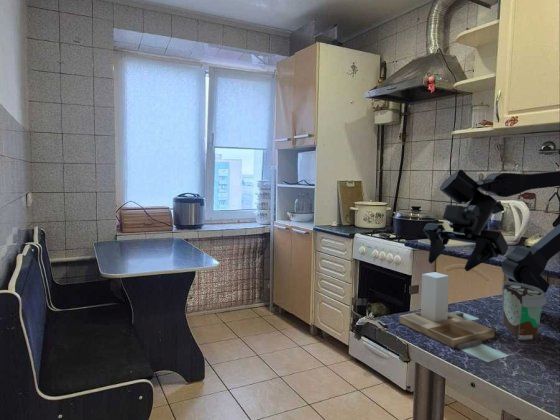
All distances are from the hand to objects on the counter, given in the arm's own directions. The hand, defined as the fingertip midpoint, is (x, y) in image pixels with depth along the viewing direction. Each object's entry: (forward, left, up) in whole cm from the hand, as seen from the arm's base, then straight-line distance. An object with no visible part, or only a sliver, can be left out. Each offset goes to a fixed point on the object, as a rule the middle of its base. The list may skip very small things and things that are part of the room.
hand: (447, 266), depth 93 cm
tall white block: (+4, 0, -13) cm, 13 cm away
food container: (-9, +13, -13) cm, 21 cm away
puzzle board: (+2, +8, -13) cm, 15 cm away
